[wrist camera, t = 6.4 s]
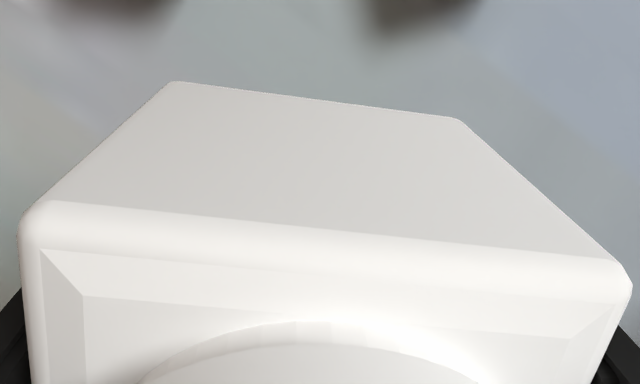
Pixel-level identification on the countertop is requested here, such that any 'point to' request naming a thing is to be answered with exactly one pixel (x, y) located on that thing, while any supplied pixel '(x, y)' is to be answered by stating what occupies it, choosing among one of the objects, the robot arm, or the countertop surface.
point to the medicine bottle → (307, 254)
